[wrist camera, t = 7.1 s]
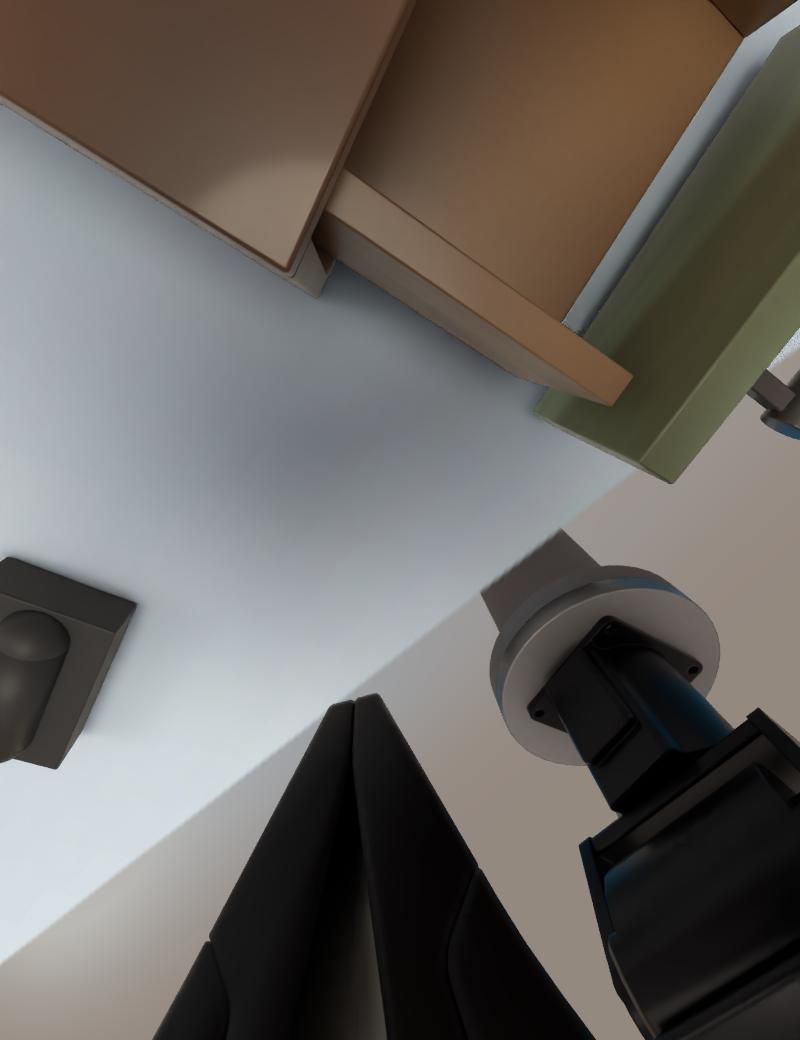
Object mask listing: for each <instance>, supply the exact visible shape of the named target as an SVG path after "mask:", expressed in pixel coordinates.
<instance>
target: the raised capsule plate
mask: <svg viewBox="0 0 800 1040" xmlns="http://www.w3.org/2000/svg"><path fill="white" fill-rule="evenodd" d="M136 607H137V605H136V604H134V603H131V602H129V601H126V600H123V599H121V598H118V597H115V596H112V595H110V594H107V593H104V592H102V591H99V590H96V589H94V588H91V587H88V586H85V585H83V584H80V583H77V582H75V581H72V580H69V579H66V578H64V577H61V576H58V575H56V574H53V573H50V572H47V571H45V570H42V569H39V568H37V567H34V566H31V565H29V564H26V563H23V562H20V561H18V560H15V559H12V558H10V557H7V558H5V559H4V560H2V561H1V562H0V763H3V762H6V761H8V760H10V759H12V758H13V759H16V760H20V761H24V762H28V763H32V764H36V765H40V766H44V767H48V768H51V769H57V768H58V767H59V766H60V764H61V763H62V761H63V760H64V758H65V757H66V755H67V753H68V752H69V750H70V749H71V747H72V746H73V744H74V743H75V741H76V740H77V738H78V737H79V735H80V734H81V731H82V729H83V727H84V725H85V722H86V720H87V718H88V715H89V713H90V711H91V709H92V706H93V704H94V702H95V700H96V697H97V695H98V693H99V691H100V688H101V686H102V684H103V681H104V679H105V677H106V675H107V672H108V670H109V668H110V666H111V663H112V661H113V659H114V657H115V654H116V652H117V650H118V647H119V645H120V643H121V641H122V638H123V636H124V634H125V632H126V629H127V627H128V625H129V623H130V620H131V618H132V616H133V613H134V611H135V609H136Z"/></svg>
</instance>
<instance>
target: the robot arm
mask: <svg viewBox="0 0 800 1040" xmlns="http://www.w3.org/2000/svg"><path fill="white" fill-rule="evenodd" d="M609 625H611V626H610V627H609V628H607V627H608V626H609ZM606 628H607V629H606ZM702 670H703V665H702V664H701V663H700V662H699V661H698V660H697V659H696V658H695V657H693V656H691V655H689V654H687V653H685V652H683V651H681V650H679V649H677V648H675V647H673V646H671V645H670V644H668V643H666V642H664V641H662V640H660V639H658V638H656V637H654V636H652V635H650V634H648V633H646V632H644V631H642V630H640V629H638V628H636V627H634V626H632V625H630V624H628V623H626V622H624V621H622V620H620V619H618V618H616V617H614V616H611V615H606V616H604V617H602V618H600V619H599V620H598V621H597V623H596V624H595V625H594V626H593V627H592V629H591V630H590V631H589V632H588V633H587V635H586V636H585V637H584V638H583V639H582V641H581V642H580V643H579V644H578V645H577V647H576V648H575V649H574V650H573V651H572V653H571V654H570V655H569V656H568V657H567V659H566V660H565V661H564V662H563V663H562V665H561V666H560V667H559V668H558V669H557V671H556V672H555V673H554V674H553V675H552V677H551V678H550V679H549V680H548V681H547V683H546V684H545V685H544V686H543V687H542V688H541V690H540V691H539V692H538V693H537V694H536V696H535V697H534V698H533V699H532V700H531V702H530V703H529V704H528V706H527V711H528V713H529V715H530V717H531V719H532V720H534V721H537V722H539V723H542V724H544V725H547V726H549V727H552V728H554V729H557V730H560V731H562V732H565V733H567V734H569V736H570V738H571V740H572V742H573V744H574V745H575V747H576V749H577V751H578V753H579V755H580V757H581V758H582V760H583V761H584V762H585V763H586V764H587V766H588V768H589V770H590V772H591V774H592V775H593V777H594V779H595V781H596V783H597V785H598V786H599V788H600V790H601V792H602V794H603V795H604V797H605V799H606V801H607V803H608V805H609V806H610V808H611V810H613V811H615V812H616V814H617V816H618V817H619V818H618V819H617V820H615V821H614V822H613V823H611V824H610V825H609V826H607V827H606V828H605V829H604V830H602V831H601V832H600V833H599V834H597V835H596V836H594V837H593V838H591V837H588V838H587V839H586V840H584V841H583V842H582V843H581V844H579V850H580V854H581V857H582V861H583V866H584V870H585V874H586V878H587V882H588V886H589V890H590V894H591V898H592V902H593V906H594V910H595V914H596V919H597V923H598V927H599V931H600V935H601V939H602V942H603V947H604V951H605V955H606V958H607V962H608V965H609V969H610V973H611V977H612V981H613V985H614V988H615V990H616V992H617V994H618V996H619V997H620V998H621V1000H622V1001H623V1002H624V1004H625V1006H626V1008H627V1010H628V1012H629V1014H630V1016H631V1017H632V1019H633V1021H634V1022H635V1024H636V1026H637V1027H638V1029H639V1031H640V1033H641V1034H642V1036H643V1037H644V1039H645V1040H800V742H799V741H797V740H796V739H795V738H794V737H793V736H792V735H790V734H789V733H788V732H787V731H785V729H783V728H782V727H781V726H780V725H779V724H777V723H776V722H775V721H774V720H773V719H771V718H770V717H769V716H768V715H767V714H765V713H764V712H763V711H762V710H761V709H760V708H757V709H756V710H754V711H753V712H752V713H750V714H749V715H748V716H746V717H747V718H748V720H746V721H745V722H744V723H743V724H741V725H740V726H739V727H737V728H736V729H734V728H733V727H732V726H731V725H730V724H729V723H728V722H727V721H726V720H725V719H724V718H723V717H722V716H721V715H720V714H719V713H718V712H717V711H716V710H715V708H713V707H712V705H710V703H709V702H708V701H707V700H706V699H705V698H704V697H703V696H702V695H701V694H700V693H699V692H698V691H697V690H696V689H695V688H694V687H693V685H692V684H691V682H692V681H693V680H694V679H695V678H696V677H697V676H698V675H699V674H700V673H701V672H702ZM537 710H538V711H537ZM209 938H210V941H206V942H205V943H204V945H203V947H202V949H201V951H200V952H199V955H198V956H197V958H196V960H195V962H194V964H193V966H192V968H191V970H190V971H189V973H188V975H187V977H186V979H185V981H184V983H183V985H182V986H181V988H180V990H179V992H178V994H177V995H176V997H175V999H174V1001H173V1003H172V1004H171V1006H170V1008H169V1010H168V1012H167V1013H166V1015H165V1017H164V1019H163V1021H162V1023H161V1025H160V1026H159V1028H158V1030H157V1032H156V1034H155V1035H154V1037H153V1039H152V1040H596V1039H595V1038H594V1036H593V1035H592V1034H591V1032H590V1031H589V1030H588V1028H587V1027H586V1026H585V1024H584V1023H583V1021H582V1020H581V1019H580V1017H579V1016H578V1015H577V1013H576V1012H575V1011H574V1010H573V1008H572V1007H571V1005H570V1004H569V1003H568V1001H567V1000H566V999H565V997H564V996H563V995H562V993H561V992H560V990H559V989H558V988H557V986H556V985H555V983H554V982H553V980H552V979H551V978H550V976H549V975H548V973H547V972H546V971H545V969H544V968H543V966H542V965H541V963H540V962H539V961H538V959H537V958H536V956H535V955H534V954H533V952H532V951H531V949H530V948H529V946H528V945H527V944H526V942H525V941H524V939H523V937H522V936H521V934H520V933H519V931H518V929H517V928H516V926H515V925H514V923H513V922H512V920H511V918H510V916H509V915H508V913H507V912H506V910H505V909H504V907H503V905H502V904H501V902H500V900H499V899H498V897H497V895H496V894H495V892H494V890H493V889H492V887H491V885H490V883H489V882H488V880H487V878H486V876H485V875H484V873H483V871H482V870H481V869H480V868H479V867H478V863H477V862H476V860H475V858H474V856H473V855H472V853H471V851H470V849H469V848H468V846H467V844H466V843H465V841H464V839H463V837H462V836H461V834H460V832H459V831H458V829H457V827H456V825H455V824H454V822H453V820H452V819H451V817H450V815H449V813H448V812H447V810H446V808H445V807H444V805H443V803H442V801H441V800H440V798H439V796H438V795H437V793H436V791H435V789H434V788H433V786H432V784H431V782H430V781H429V779H428V777H427V775H426V774H425V772H424V770H423V769H422V767H421V765H420V763H419V762H418V760H417V759H416V757H415V755H414V753H413V751H412V750H411V748H410V746H409V745H408V743H407V741H406V739H405V738H404V736H403V734H402V732H401V731H400V729H399V728H398V726H397V724H396V722H395V720H394V719H393V717H392V715H391V714H390V712H389V710H388V708H387V707H386V705H385V703H384V702H383V700H382V698H381V696H380V695H379V694H377V693H374V694H370V695H366V696H362V697H359V698H357V699H356V701H353V700H347V701H343V702H340V703H336V704H333V705H331V706H330V707H329V708H328V710H327V712H326V714H325V716H324V718H323V720H322V722H321V723H320V725H319V727H318V729H317V731H316V733H315V735H314V737H313V739H312V741H311V742H310V744H309V746H308V748H307V750H306V752H305V754H304V756H303V758H302V759H301V761H300V764H299V765H298V767H297V769H296V771H295V773H294V775H293V777H292V779H291V781H290V782H289V784H288V786H287V788H286V790H285V792H284V794H283V796H282V798H281V799H280V801H279V803H278V805H277V807H276V809H275V811H274V813H273V815H272V816H271V818H270V820H269V822H268V824H267V826H266V828H265V830H264V832H263V833H262V836H261V837H260V839H259V841H258V843H257V845H256V847H255V849H254V851H253V853H252V854H251V856H250V858H249V860H248V862H247V864H246V866H245V868H244V869H243V871H242V873H241V875H240V877H239V879H238V881H237V883H236V885H235V887H234V889H233V890H232V892H231V894H230V896H229V898H228V900H227V902H226V904H225V906H224V907H223V909H222V911H221V913H220V915H219V917H218V919H217V921H216V923H215V924H214V927H213V929H212V930H211V932H210V935H209Z"/></svg>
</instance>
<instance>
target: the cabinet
mask: <svg viewBox="0 0 800 1040" xmlns="http://www.w3.org/2000/svg"><path fill="white" fill-rule="evenodd" d="M416 2H417V0H0V103H1V104H2V105H4V106H6V107H7V108H9V109H10V110H12V111H14V112H15V113H17V114H19V115H20V116H22V117H23V118H25V119H27V120H28V121H30V122H31V123H33V124H35V125H36V126H38V127H39V128H41V129H43V130H44V131H46V132H48V133H49V134H51V135H52V136H54V137H56V138H57V139H59V140H60V141H62V142H64V143H65V144H67V145H69V146H70V147H72V148H73V149H75V150H77V151H78V152H80V153H81V154H83V155H85V156H86V157H88V158H89V159H91V160H93V161H94V162H96V163H98V164H99V165H101V166H102V167H104V168H106V169H107V170H109V171H110V172H112V173H114V174H115V175H117V176H119V177H120V178H122V179H123V180H125V181H127V182H128V183H130V184H131V185H133V186H135V187H136V188H138V189H139V190H141V191H143V192H144V193H146V194H148V195H149V196H151V197H152V198H154V199H156V200H157V201H159V202H160V203H162V204H164V205H165V206H167V207H169V208H170V209H172V210H173V211H175V212H177V213H178V214H180V215H181V216H183V217H185V218H186V219H188V220H189V221H191V222H193V223H194V224H196V225H198V226H199V227H201V228H202V229H204V230H206V231H207V232H209V233H210V234H212V235H214V236H215V237H217V238H219V239H220V240H222V241H223V242H225V243H227V244H228V245H230V246H231V247H233V248H235V249H236V250H238V251H239V252H241V253H243V254H244V255H246V256H248V257H249V258H251V259H252V260H254V261H256V262H257V263H259V264H260V265H262V266H264V267H265V268H267V269H269V270H270V271H272V272H273V273H275V274H277V275H278V276H280V277H281V278H283V279H285V280H286V281H288V282H289V283H291V284H293V285H294V286H296V287H298V288H299V289H301V290H302V291H304V292H306V293H307V294H309V295H310V296H312V297H314V298H315V299H318V298H319V296H320V294H321V291H322V289H323V287H324V285H325V283H326V281H327V279H328V277H329V275H330V272H331V270H332V268H333V266H334V264H335V262H336V260H337V259H336V258H334V257H333V256H331V255H330V254H328V253H327V252H325V251H324V250H322V249H321V248H319V247H318V246H316V245H315V244H313V241H312V239H311V236H312V234H313V232H314V229H315V227H316V225H317V223H318V221H319V218H320V216H321V214H322V212H323V209H324V207H325V205H326V203H327V201H328V198H329V196H330V194H331V192H332V189H333V187H334V185H335V183H336V180H337V178H338V176H339V174H340V172H341V169H342V167H343V165H344V163H345V160H346V158H347V156H348V154H349V151H350V149H351V147H352V145H353V143H354V140H355V138H356V136H357V134H358V131H359V129H360V127H361V125H362V122H363V120H364V118H365V116H366V114H367V111H368V109H369V107H370V105H371V102H372V100H373V98H374V96H375V94H376V91H377V89H378V87H379V85H380V82H381V80H382V78H383V76H384V73H385V71H386V69H387V67H388V65H389V62H390V60H391V58H392V56H393V53H394V51H395V49H396V47H397V44H398V42H399V40H400V38H401V36H402V33H403V31H404V29H405V27H406V24H407V22H408V20H409V18H410V15H411V13H412V11H413V9H414V7H415V4H416Z"/></svg>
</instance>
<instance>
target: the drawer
mask: <svg viewBox="0 0 800 1040" xmlns="http://www.w3.org/2000/svg"><path fill="white" fill-rule="evenodd" d="M796 1H798V0H417V2H416V4H415V7H414V9H413V11H412V13H411V15H410V18H409V20H408V22H407V24H406V27H405V29H404V31H403V33H402V36H401V38H400V40H399V42H398V44H397V47H396V49H395V51H394V53H393V56H392V58H391V60H390V62H389V65H388V67H387V69H386V71H385V73H384V76H383V78H382V80H381V82H380V85H379V87H378V89H377V91H376V94H375V96H374V98H373V100H372V102H371V105H370V107H369V109H368V111H367V114H366V116H365V118H364V120H363V122H362V125H361V127H360V129H359V131H358V134H357V136H356V138H355V140H354V143H353V145H352V147H351V149H350V151H349V154H348V156H347V158H346V160H345V163H344V165H343V167H342V169H341V172H340V174H339V176H338V178H337V180H336V183H335V185H334V187H333V189H332V192H331V194H330V196H329V198H328V201H327V203H326V205H325V207H324V209H323V212H322V214H321V216H320V218H319V221H318V223H317V225H316V227H315V229H314V232H313V234H312V236H311V239H312V241H313V244H315V245H316V246H318V247H319V248H321V249H322V250H324V251H325V252H327V253H328V254H330V255H331V256H333V257H334V258H336V259H338V260H339V261H341V262H342V263H344V264H345V265H347V266H348V267H350V268H351V269H353V270H354V271H356V272H357V273H359V274H360V275H362V276H363V277H365V278H366V279H368V280H370V281H371V282H373V283H374V284H376V285H377V286H379V287H380V288H382V289H383V290H385V291H386V292H388V293H389V294H391V295H392V296H394V297H395V298H397V299H399V300H400V301H402V302H403V303H405V304H406V305H408V306H409V307H411V308H412V309H414V310H415V311H417V312H418V313H420V314H421V315H423V316H424V317H426V318H427V319H429V320H431V321H432V322H434V323H435V324H437V325H438V326H440V327H441V328H443V329H444V330H446V331H447V332H449V333H450V334H452V335H453V336H455V337H456V338H458V339H459V340H461V341H463V342H464V343H466V344H467V345H469V346H470V347H472V348H473V349H475V350H476V351H478V352H479V353H481V354H482V355H484V356H485V357H487V358H488V359H490V360H491V361H493V362H495V363H496V364H498V365H499V366H501V367H502V368H504V369H505V370H507V371H508V372H510V373H511V374H513V375H514V376H516V377H519V378H522V379H524V380H527V381H530V382H534V383H537V384H540V385H543V386H546V387H549V388H548V389H547V391H546V393H545V394H544V396H543V397H542V399H541V400H540V402H539V403H538V405H537V406H536V408H535V409H534V411H533V413H534V414H535V415H537V416H538V417H540V418H541V419H543V420H545V421H546V422H548V423H549V424H551V425H552V426H554V427H556V428H558V429H560V430H562V431H564V432H566V433H568V434H570V435H572V436H574V437H576V438H578V439H580V440H582V441H584V442H586V443H588V444H590V445H592V446H594V447H596V448H598V449H600V450H602V451H604V452H606V453H608V454H610V455H612V456H614V457H616V458H618V459H620V460H622V461H624V462H626V463H628V464H630V465H632V466H634V467H636V468H638V469H640V470H642V471H644V472H647V473H648V474H650V475H652V476H654V477H656V478H658V479H660V480H663V481H665V482H667V483H668V484H673V483H675V481H676V480H677V479H678V478H679V476H680V475H681V474H682V473H683V471H684V470H685V469H686V468H687V466H688V465H689V464H690V463H691V461H692V460H693V459H694V458H695V457H696V455H697V454H698V453H699V452H700V450H701V449H702V448H703V446H704V445H705V444H706V443H707V442H708V440H709V439H710V438H711V436H712V435H713V434H714V433H715V432H716V430H717V429H718V428H719V427H720V426H721V424H722V423H723V422H724V420H725V419H726V418H727V417H728V416H729V414H730V413H731V412H732V411H733V409H734V408H735V407H736V406H737V404H738V403H739V402H740V401H741V399H742V398H743V397H744V396H745V394H748V395H749V396H750V397H751V398H753V399H754V400H755V401H757V402H758V403H759V404H760V405H762V406H763V407H764V408H766V410H765V411H764V413H763V414H762V415H761V417H760V419H761V421H762V422H763V423H764V424H766V425H767V426H768V427H770V428H772V429H773V430H775V431H777V432H779V433H781V434H784V435H786V436H788V437H791V438H794V439H798V440H800V369H799V371H798V372H797V373H796V374H795V375H794V377H793V378H792V379H791V380H790V381H789V382H788V384H787V385H785V384H783V383H782V382H781V381H780V380H779V379H777V378H776V377H775V376H774V375H773V374H771V373H770V372H769V371H768V370H766V368H767V367H768V366H769V365H770V363H771V362H772V361H773V360H774V358H775V357H776V356H777V355H778V354H779V352H780V351H781V350H782V349H783V347H784V346H785V345H786V344H787V342H788V341H789V340H790V339H791V337H792V336H793V335H794V334H795V332H796V331H797V330H798V329H799V327H800V25H799V26H798V27H796V28H795V29H793V30H792V31H790V32H789V33H787V34H786V35H784V36H783V37H781V38H780V40H779V41H778V43H777V44H776V46H775V47H774V49H773V50H772V52H771V53H770V55H769V56H768V58H767V59H766V61H765V62H764V64H763V65H762V67H761V68H760V70H759V71H758V73H757V74H756V76H755V77H754V79H753V80H752V82H751V83H750V85H749V86H748V88H747V89H746V91H745V92H744V94H743V95H742V97H741V99H740V100H739V102H738V103H737V105H736V106H735V108H734V109H733V111H732V112H731V114H730V115H729V117H728V118H727V120H726V121H725V123H724V124H723V126H722V127H721V129H720V130H719V132H718V133H717V135H716V136H715V138H714V139H713V141H712V142H711V144H710V145H709V147H708V148H707V150H706V151H705V153H704V154H703V156H702V157H701V159H700V160H699V162H698V163H697V165H696V166H695V168H694V169H693V171H692V172H691V174H690V175H689V177H688V178H687V180H686V181H685V183H684V184H683V186H682V187H681V189H680V190H679V192H678V193H677V195H676V197H675V198H674V200H673V201H672V203H671V204H670V206H669V207H668V209H667V210H666V212H665V213H664V215H663V216H662V218H661V219H660V221H659V222H658V224H657V225H656V227H655V228H654V230H653V231H652V233H651V234H650V236H649V237H648V239H647V240H646V242H645V243H644V245H643V246H642V248H641V249H640V251H639V252H638V254H637V255H636V257H635V258H634V260H633V261H632V263H631V264H630V266H629V267H628V269H627V270H626V272H625V273H624V275H623V276H622V278H621V279H620V281H619V282H618V284H617V285H616V287H615V288H614V290H613V291H612V293H611V295H610V296H609V298H608V299H607V301H606V302H605V304H604V305H603V307H602V308H601V310H600V311H599V313H598V314H597V316H596V317H595V319H594V320H593V322H592V323H591V325H590V326H589V328H588V329H587V331H586V332H585V334H584V335H583V337H582V338H581V337H580V336H578V335H577V334H576V333H574V332H573V331H572V330H570V329H569V328H567V327H566V326H565V325H563V324H562V321H563V319H564V318H565V316H566V315H567V313H568V312H569V310H570V309H571V307H572V305H573V304H574V302H575V301H576V299H577V298H578V296H579V295H580V293H581V291H582V290H583V288H584V287H585V285H586V284H587V282H588V281H589V279H590V277H591V276H592V274H593V273H594V271H595V270H596V268H597V267H598V265H599V263H600V262H601V260H602V259H603V257H604V256H605V254H606V253H607V251H608V249H609V248H610V246H611V245H612V243H613V242H614V240H615V239H616V237H617V235H618V234H619V232H620V231H621V229H622V228H623V226H624V225H625V223H626V221H627V220H628V218H629V217H630V215H631V214H632V212H633V211H634V209H635V207H636V206H637V204H638V203H639V201H640V200H641V198H642V197H643V195H644V193H645V192H646V190H647V189H648V187H649V186H650V184H651V183H652V181H653V179H654V178H655V176H656V175H657V173H658V172H659V170H660V169H661V167H662V165H663V164H664V162H665V161H666V159H667V158H668V156H669V155H670V153H671V151H672V150H673V148H674V147H675V145H676V144H677V142H678V141H679V139H680V137H681V136H682V134H683V133H684V131H685V130H686V128H687V127H688V125H689V123H690V122H691V120H692V119H693V117H694V116H695V114H696V113H697V111H698V109H699V108H700V106H701V105H702V103H703V102H704V100H705V99H706V97H707V95H708V94H709V92H710V91H711V89H712V88H713V86H714V85H715V83H716V81H717V80H718V78H719V77H720V75H721V74H722V72H723V71H724V69H725V67H726V66H727V64H728V63H729V61H730V60H731V58H732V57H733V55H734V53H735V52H736V50H737V49H738V47H739V46H740V44H741V43H742V41H743V39H744V38H745V37H747V36H749V35H750V34H752V33H753V32H754V31H756V30H757V29H759V28H760V27H761V26H763V25H764V24H766V23H767V22H768V21H770V20H771V19H773V18H774V17H775V16H777V15H778V14H779V13H781V12H782V11H784V10H785V9H786V8H788V7H789V6H791V5H792V4H793V3H795V2H796Z"/></svg>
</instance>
